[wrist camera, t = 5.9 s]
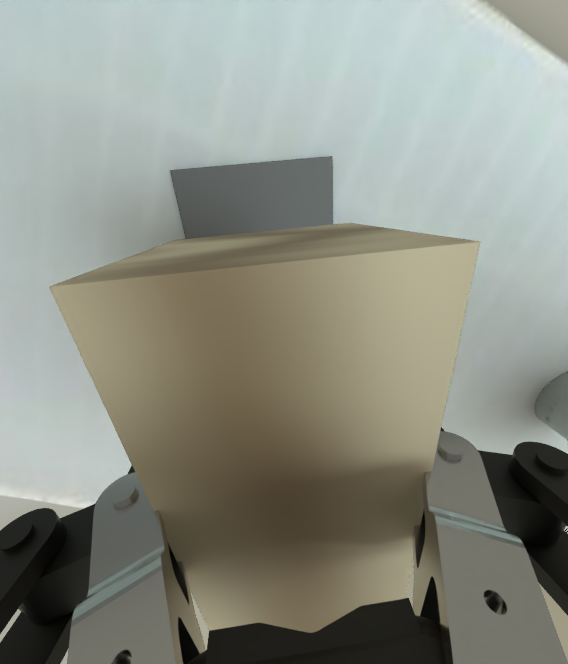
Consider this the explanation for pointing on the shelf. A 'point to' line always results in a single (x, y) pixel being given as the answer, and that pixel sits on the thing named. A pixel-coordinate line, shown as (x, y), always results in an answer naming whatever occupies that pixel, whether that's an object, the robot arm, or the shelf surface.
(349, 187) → the shelf surface
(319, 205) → the picture tile
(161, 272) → the maple block
